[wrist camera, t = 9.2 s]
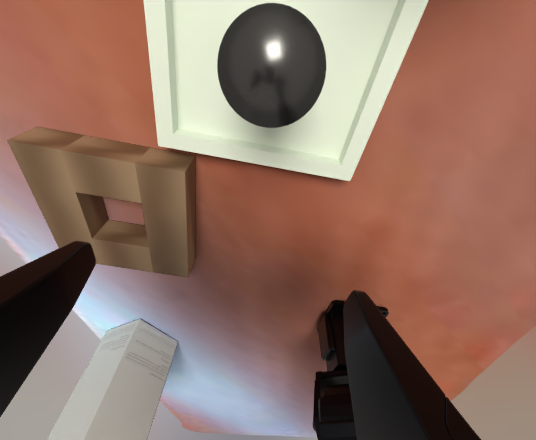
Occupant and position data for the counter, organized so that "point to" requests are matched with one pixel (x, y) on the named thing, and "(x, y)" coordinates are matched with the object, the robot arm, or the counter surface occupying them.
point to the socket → (117, 187)
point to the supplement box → (119, 386)
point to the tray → (320, 115)
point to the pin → (271, 65)
